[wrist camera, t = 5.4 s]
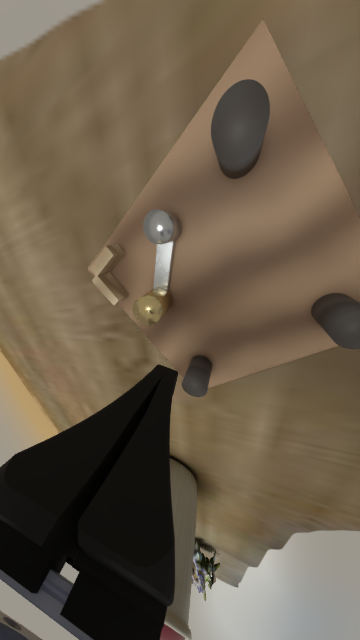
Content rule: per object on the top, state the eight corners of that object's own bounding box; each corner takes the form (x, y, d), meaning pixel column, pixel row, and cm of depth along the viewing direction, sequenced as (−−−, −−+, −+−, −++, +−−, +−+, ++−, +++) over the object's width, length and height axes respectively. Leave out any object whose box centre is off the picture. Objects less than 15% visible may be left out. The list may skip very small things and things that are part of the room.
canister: (175, 492, 44) (131, 667, 26) (123, 450, 42) (39, 609, 25) (227, 489, 35) (215, 760, 17) (164, 435, 33) (74, 677, 15)
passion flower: (198, 515, 62) (190, 552, 51) (226, 539, 58) (224, 584, 47) (186, 545, 62) (176, 588, 50) (214, 571, 58) (209, 624, 47)
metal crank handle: (155, 210, 14) (133, 204, 11) (186, 215, 13) (171, 210, 10) (149, 306, 18) (132, 320, 15) (171, 313, 18) (158, 329, 15)
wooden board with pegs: (395, 313, 13) (467, 351, 9) (198, 383, 23) (189, 416, 19) (259, 47, 10) (275, -98, 5) (97, 266, 20) (58, 275, 16)
